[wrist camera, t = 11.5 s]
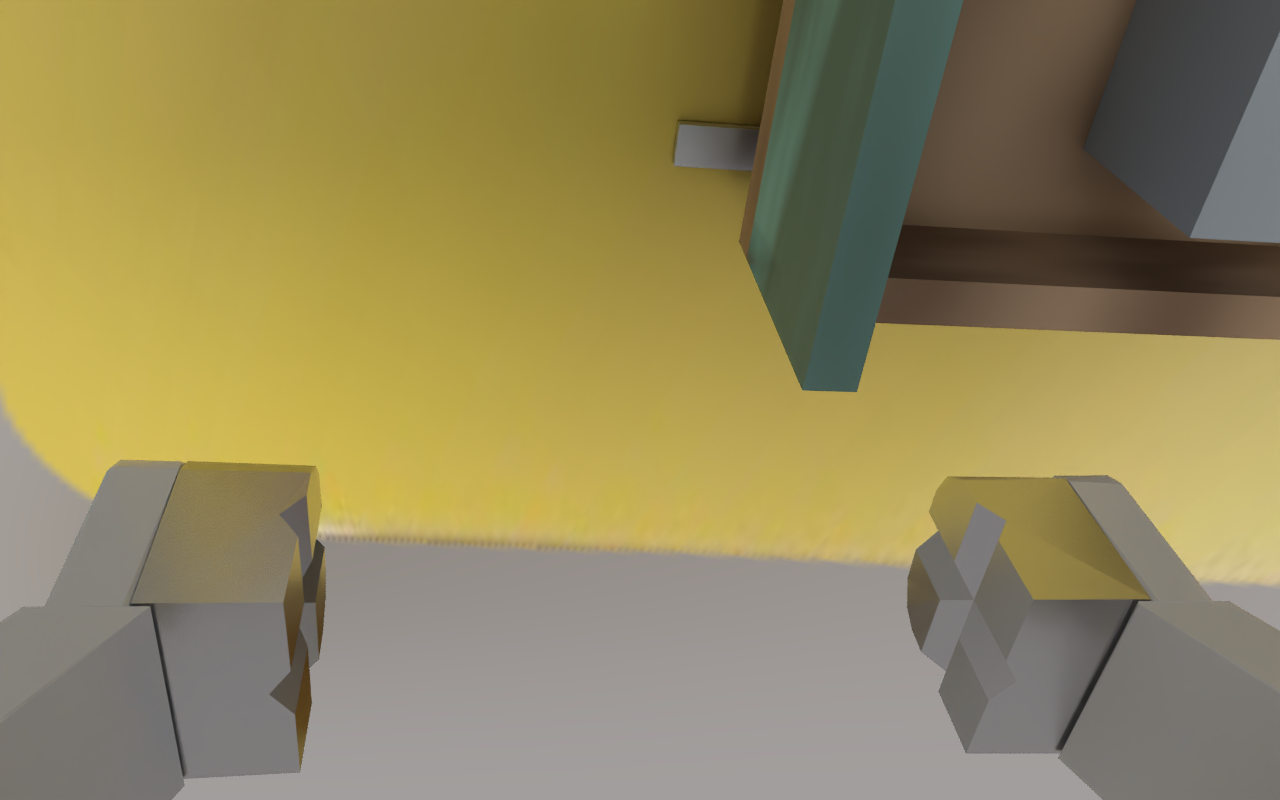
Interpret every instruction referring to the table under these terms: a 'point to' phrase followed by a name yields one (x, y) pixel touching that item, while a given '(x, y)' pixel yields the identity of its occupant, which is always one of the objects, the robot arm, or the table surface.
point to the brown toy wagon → (966, 187)
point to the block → (1198, 115)
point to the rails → (715, 145)
